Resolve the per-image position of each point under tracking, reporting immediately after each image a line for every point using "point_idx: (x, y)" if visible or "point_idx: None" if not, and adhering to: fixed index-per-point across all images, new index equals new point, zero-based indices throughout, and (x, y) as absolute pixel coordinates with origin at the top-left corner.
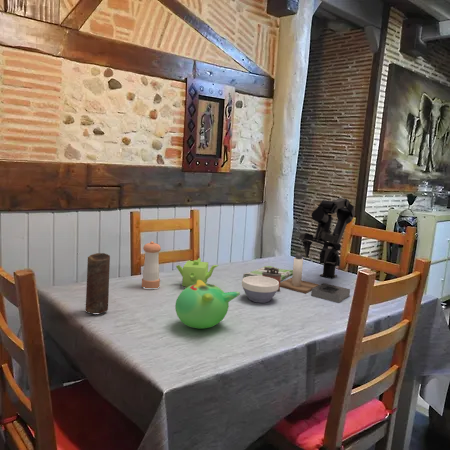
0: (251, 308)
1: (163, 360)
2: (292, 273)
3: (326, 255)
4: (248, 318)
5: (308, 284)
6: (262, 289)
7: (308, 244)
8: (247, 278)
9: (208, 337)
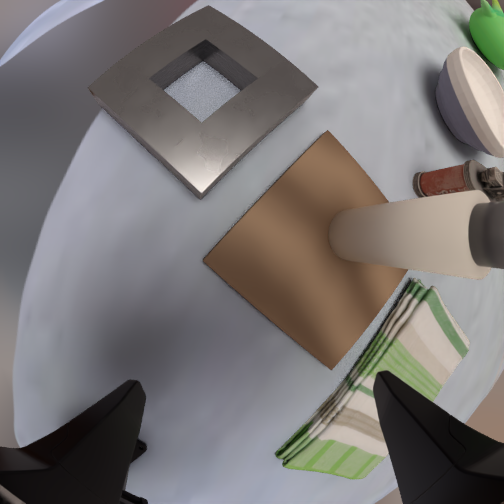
0: None
1: (469, 9)
2: (291, 445)
3: (107, 456)
4: (446, 34)
5: (277, 255)
6: (473, 57)
7: (499, 452)
8: None
9: (462, 18)
